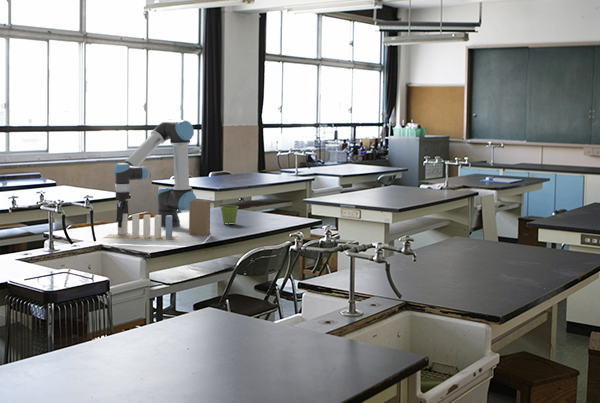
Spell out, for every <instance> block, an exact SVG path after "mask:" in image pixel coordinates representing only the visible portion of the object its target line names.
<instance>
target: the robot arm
mask: <svg viewBox="0 0 600 403" xmlns="http://www.w3.org/2000/svg"><path fill="white" fill-rule="evenodd" d="M194 133H195V130H194V126H193V124H192V123H191V122H190V121H188V120H185V119H166V120H164V121H163V122H161V123H160V124H158V125H157V126H156V127H155V128H154V129H153V130H151V132H150V135H149V136H148V137H147V138H146V139H145V140H144V141H143V142H142V143H141V144H140V145H139V146H138V147H137V148H136V149H135V150H134V151H133V152H132V153H131V154H130V155H129V156H128V158H126V159H125V160H124V161H123V162H119V163H116V164H115V166H114V168H113V175H114V176H115V184H114V187H115V199H116V200H117V199H118V202H117V203H116V220H115V222H117V234H118V233H123V222H122V221H123V214H128V220H129V219H130V217H129V200H128V199H130V197H131V196H130V189H131V185H130V181H142V180H146V179H147V178H148V176H149V170H148V168H147V167H146V166H141V164H142V163H143V162H144V161H145V160H146V159H147V157H149V156H150V155H151V154H152V153H153V152H154V151H155V150H156V148H158V147H159V145H161V144H164V143H165V142H167V141H168V140H169V141H170V144H171V145H172V147H173V148H172V150H173V152H172V156H173V177H174V186H173V187H163V188H159V189H158V190H157V213H156V215H161V227H166V216H167V215H172V227H177V226H180V225H181V221H180V217H179V213H178V210H179V211H182V212H183V211H187V212H188V211H189V203H190V201H192V200H197V196H196V194H195V193H194V192H193V188H192V187H191V185H190V174H189V172H190V170H189V169H190V168H189V145H190V144H191V139H192V138H193V137H194Z"/></svg>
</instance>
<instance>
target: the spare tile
mask: <svg viewBox="0 0 600 403" xmlns="http://www.w3.org/2000/svg"><path fill="white" fill-rule="evenodd" d="M128 216H129V213H128V214H123V221H122V222H123V233H118V232H117V234H121V235H128V233H129V232H128V231H129V229H128V228H129V227H128V226H129V224H128V223H129V222H128V220H129V219H128V218H129V217H128Z"/></svg>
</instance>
